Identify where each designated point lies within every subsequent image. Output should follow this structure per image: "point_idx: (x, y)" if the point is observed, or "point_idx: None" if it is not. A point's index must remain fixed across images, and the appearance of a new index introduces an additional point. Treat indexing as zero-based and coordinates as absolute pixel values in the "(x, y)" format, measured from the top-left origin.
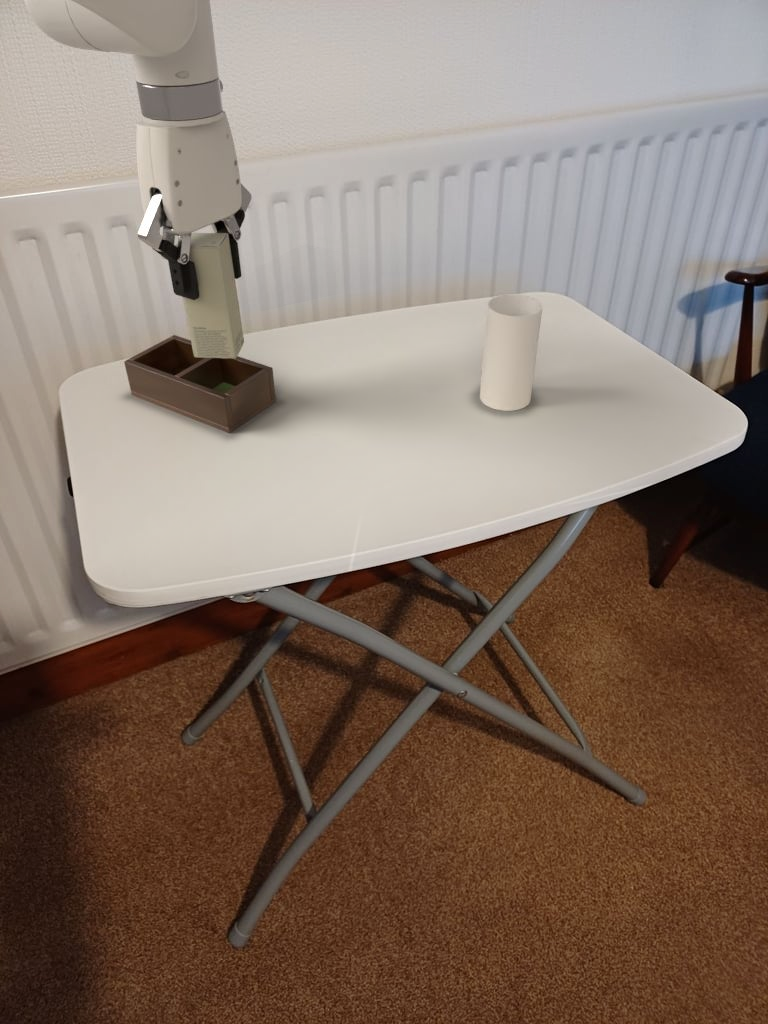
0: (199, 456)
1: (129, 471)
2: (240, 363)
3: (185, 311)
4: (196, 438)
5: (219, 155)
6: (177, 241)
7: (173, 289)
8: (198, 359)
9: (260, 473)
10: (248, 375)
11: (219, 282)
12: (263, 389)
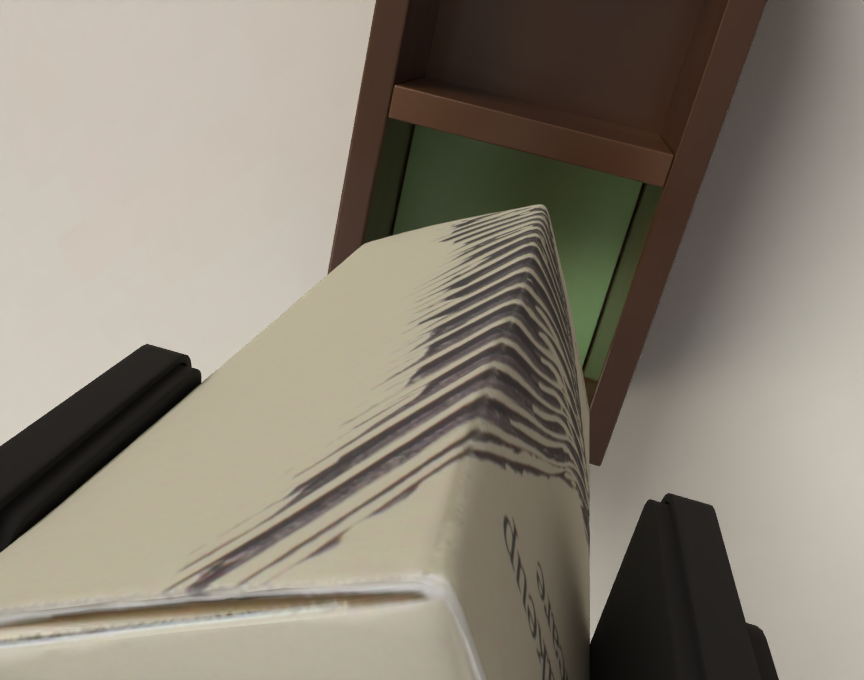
0: (204, 293)
1: (41, 121)
2: (619, 310)
3: (269, 325)
4: (284, 234)
5: None
6: (36, 653)
7: (135, 353)
8: (710, 16)
9: None
10: (606, 330)
11: None
12: None
